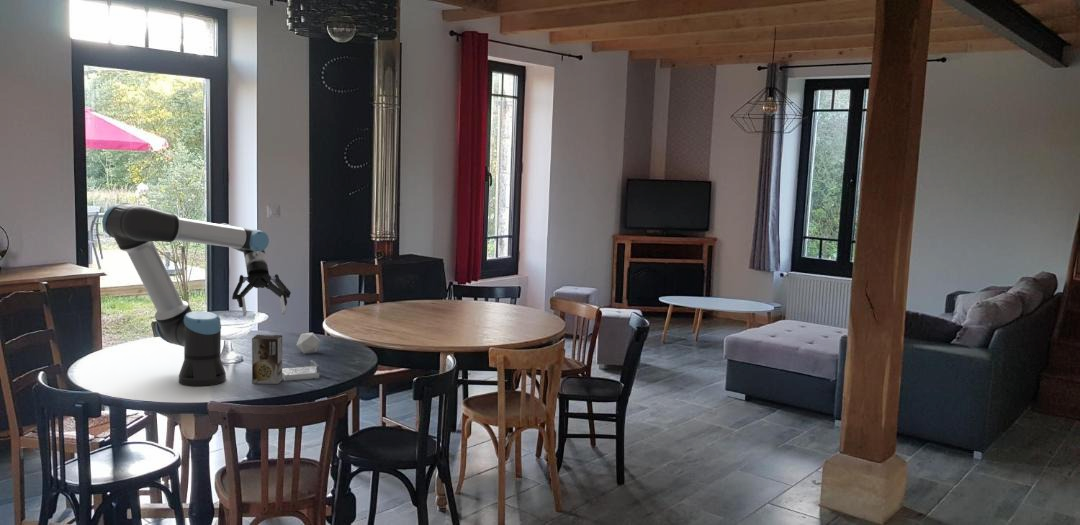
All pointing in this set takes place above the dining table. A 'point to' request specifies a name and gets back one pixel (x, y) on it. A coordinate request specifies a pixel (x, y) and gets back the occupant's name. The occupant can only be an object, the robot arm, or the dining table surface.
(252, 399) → the dining table surface
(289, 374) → the tray
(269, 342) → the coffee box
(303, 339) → the die
